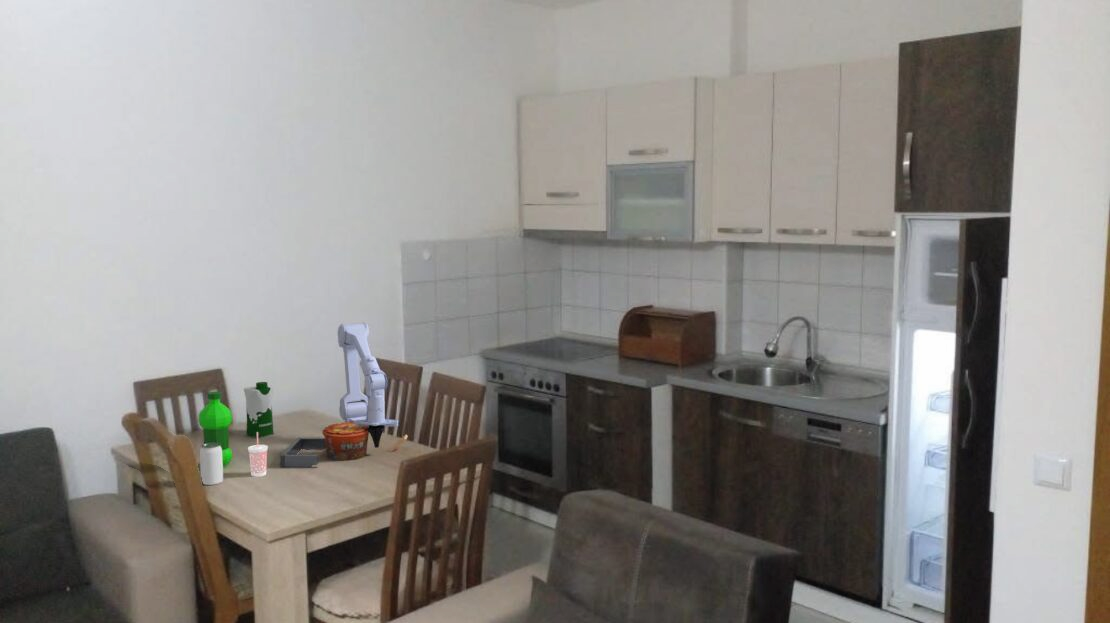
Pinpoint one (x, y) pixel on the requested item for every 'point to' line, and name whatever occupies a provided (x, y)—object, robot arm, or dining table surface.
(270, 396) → the milk carton
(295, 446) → the tray
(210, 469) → the can
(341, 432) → the food container
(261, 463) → the beverage cup
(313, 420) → the dining table surface
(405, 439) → the latch flap
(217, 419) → the plastic bottle
